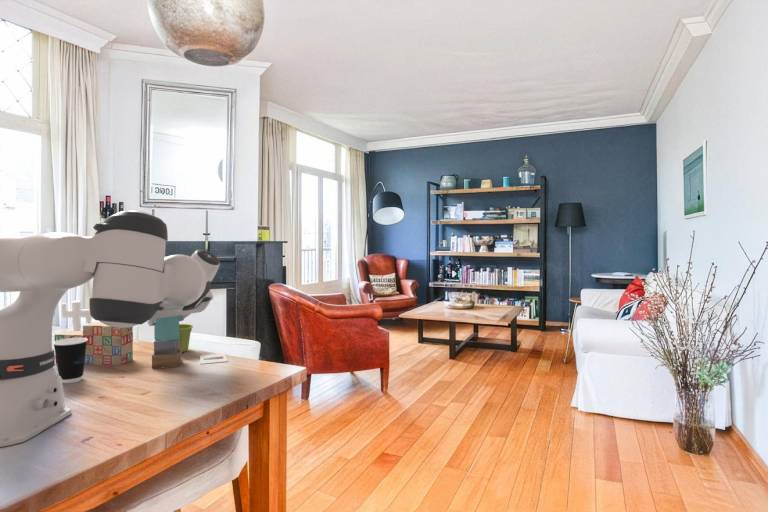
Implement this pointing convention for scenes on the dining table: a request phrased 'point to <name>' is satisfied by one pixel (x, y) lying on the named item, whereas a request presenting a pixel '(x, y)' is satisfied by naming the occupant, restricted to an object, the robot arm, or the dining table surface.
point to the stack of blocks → (104, 343)
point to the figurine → (76, 315)
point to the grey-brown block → (166, 354)
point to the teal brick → (167, 328)
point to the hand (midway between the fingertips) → (165, 321)
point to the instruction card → (213, 358)
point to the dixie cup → (70, 358)
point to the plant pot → (184, 336)
